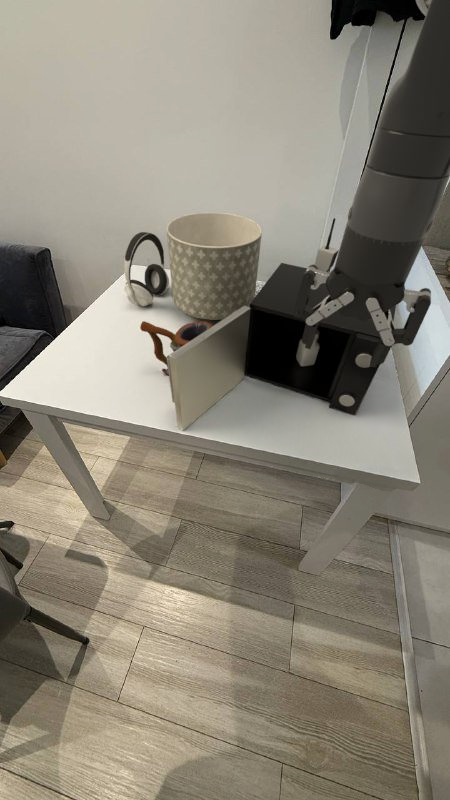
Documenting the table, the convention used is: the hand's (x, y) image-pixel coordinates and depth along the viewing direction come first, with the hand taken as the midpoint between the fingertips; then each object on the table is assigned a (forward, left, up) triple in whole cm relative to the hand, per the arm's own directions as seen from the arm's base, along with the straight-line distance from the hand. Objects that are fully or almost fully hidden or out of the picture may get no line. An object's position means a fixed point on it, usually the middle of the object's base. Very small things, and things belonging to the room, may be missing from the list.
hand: (339, 354), depth 44 cm
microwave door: (+25, -9, -28) cm, 38 cm away
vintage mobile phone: (+12, -65, -28) cm, 72 cm away
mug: (+33, -13, -28) cm, 45 cm away
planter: (+40, -45, -28) cm, 67 cm away
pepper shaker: (+7, -31, -27) cm, 42 cm away
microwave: (+6, -30, -28) cm, 41 cm away
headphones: (+61, -41, -28) cm, 79 cm away
